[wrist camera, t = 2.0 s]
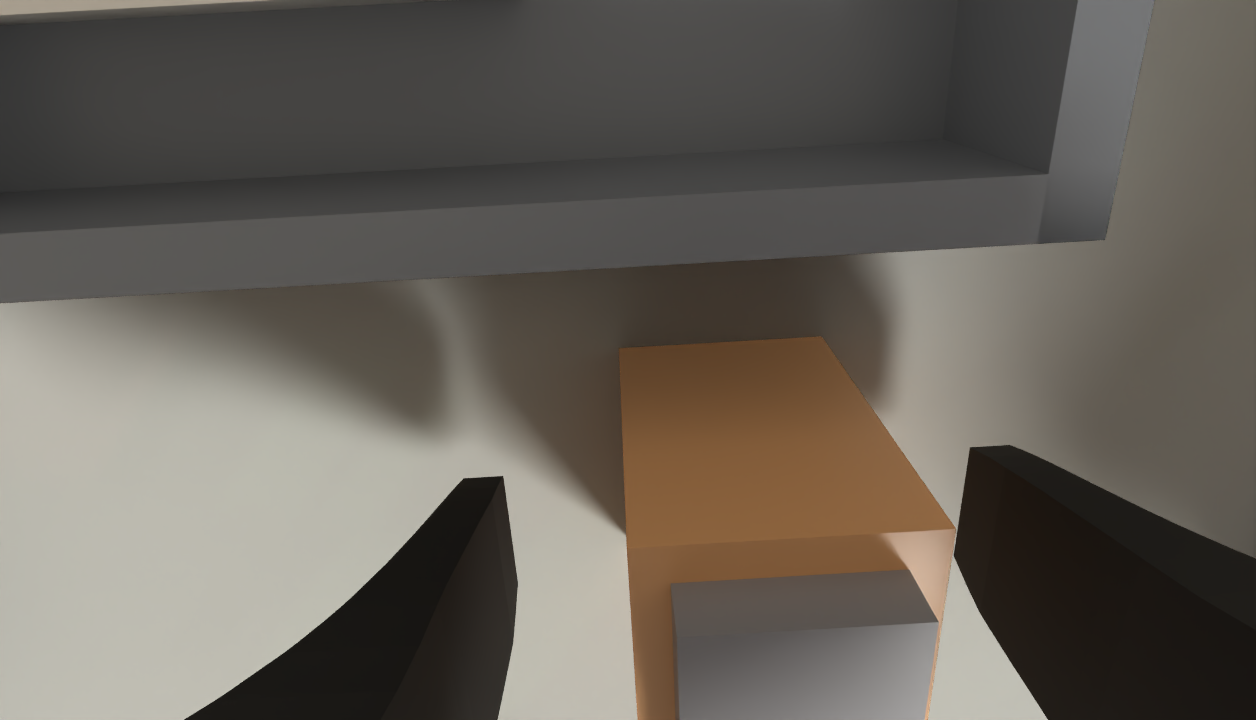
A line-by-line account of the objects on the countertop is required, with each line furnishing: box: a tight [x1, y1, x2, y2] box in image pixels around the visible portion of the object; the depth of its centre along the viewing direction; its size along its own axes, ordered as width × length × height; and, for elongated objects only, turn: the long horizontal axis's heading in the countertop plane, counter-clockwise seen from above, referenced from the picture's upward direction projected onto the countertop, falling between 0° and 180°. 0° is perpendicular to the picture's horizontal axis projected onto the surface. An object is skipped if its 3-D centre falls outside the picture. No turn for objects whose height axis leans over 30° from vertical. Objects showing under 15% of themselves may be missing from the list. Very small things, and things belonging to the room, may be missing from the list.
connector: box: [619, 336, 956, 720], centre depth 11 cm, size 4×4×6 cm
